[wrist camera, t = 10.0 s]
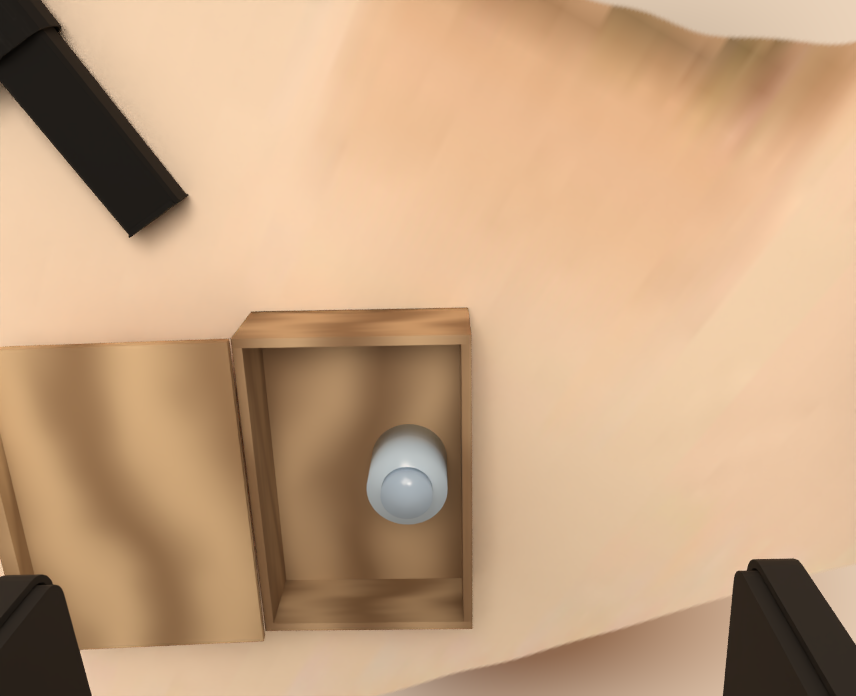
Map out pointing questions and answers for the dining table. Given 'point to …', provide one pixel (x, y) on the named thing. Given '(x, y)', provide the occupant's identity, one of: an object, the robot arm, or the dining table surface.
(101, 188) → the submachine gun
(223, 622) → the lid
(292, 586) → the box
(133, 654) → the dining table surface
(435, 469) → the blue jar
